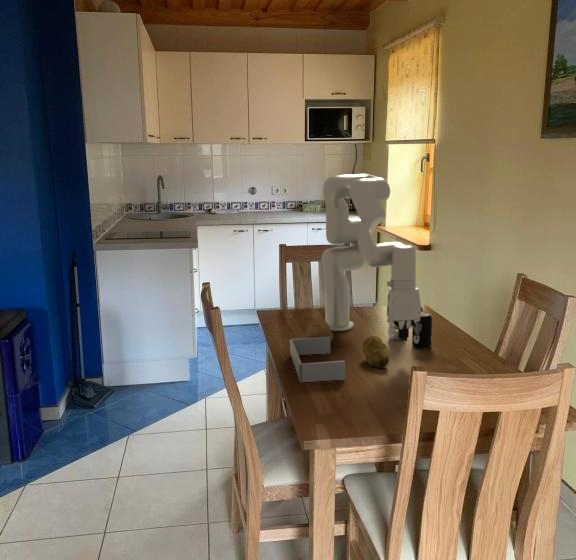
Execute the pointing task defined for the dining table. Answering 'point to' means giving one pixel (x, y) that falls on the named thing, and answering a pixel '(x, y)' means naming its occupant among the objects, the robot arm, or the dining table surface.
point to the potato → (375, 352)
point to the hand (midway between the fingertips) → (403, 339)
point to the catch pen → (319, 369)
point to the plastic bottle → (393, 331)
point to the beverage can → (422, 331)
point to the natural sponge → (319, 329)
